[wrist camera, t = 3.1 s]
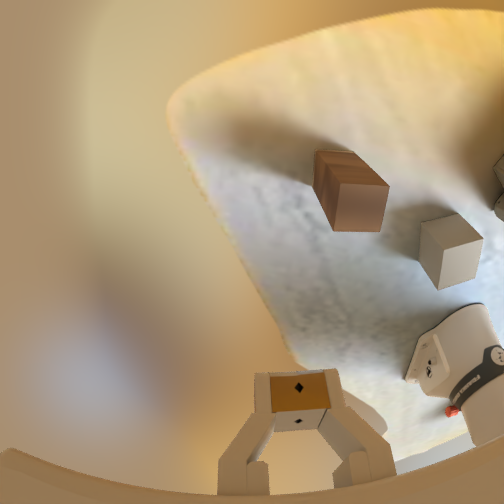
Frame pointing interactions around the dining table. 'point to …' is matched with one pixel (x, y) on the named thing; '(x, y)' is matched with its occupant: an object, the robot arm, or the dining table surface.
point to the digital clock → (503, 173)
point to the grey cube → (449, 250)
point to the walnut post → (349, 191)
